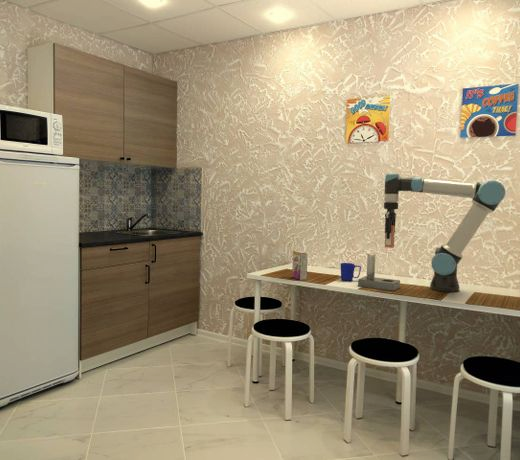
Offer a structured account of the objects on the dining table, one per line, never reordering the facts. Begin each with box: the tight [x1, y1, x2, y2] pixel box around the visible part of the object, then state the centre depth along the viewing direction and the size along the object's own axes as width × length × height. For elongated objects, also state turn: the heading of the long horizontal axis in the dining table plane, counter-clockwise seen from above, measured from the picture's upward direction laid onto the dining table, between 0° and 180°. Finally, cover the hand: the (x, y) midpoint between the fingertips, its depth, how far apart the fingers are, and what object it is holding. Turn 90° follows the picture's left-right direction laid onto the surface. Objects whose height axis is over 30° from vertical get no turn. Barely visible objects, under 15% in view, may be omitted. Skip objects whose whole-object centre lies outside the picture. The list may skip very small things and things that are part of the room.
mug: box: [340, 262, 362, 282], centre depth 275 cm, size 8×12×10 cm
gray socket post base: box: [357, 253, 401, 292], centre depth 258 cm, size 20×12×18 cm, turn 58°
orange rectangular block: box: [384, 225, 396, 249], centre depth 253 cm, size 4×4×12 cm
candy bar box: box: [291, 250, 308, 281], centre depth 277 cm, size 11×5×16 cm, turn 22°
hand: (389, 244), depth 254 cm, fingers closed on orange rectangular block, 4 cm apart
